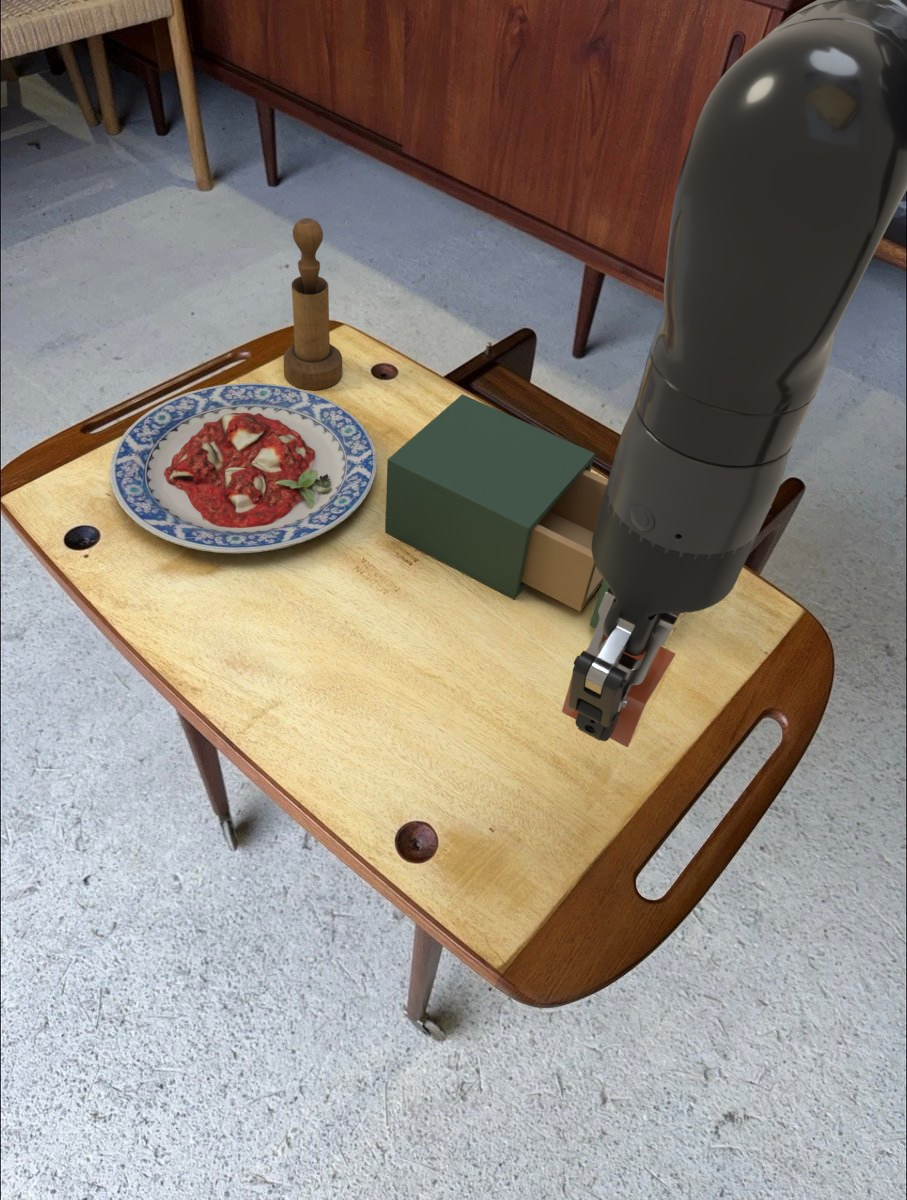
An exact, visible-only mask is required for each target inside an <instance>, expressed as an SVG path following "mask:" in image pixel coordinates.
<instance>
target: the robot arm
mask: <svg viewBox="0 0 907 1200" xmlns="http://www.w3.org/2000/svg"><path fill="white" fill-rule="evenodd" d="M906 192H907V0H815V1H813V2H811V3H809V4H807V5H806V6H803V7H802V8H800V9H799V10H797V11H796V12H794V13H792V14H791V15H789V16H788V17H787V18H786V19H785V20H784V21H782V22H781V23H779V24H778V25H777V26H776V27H775V28H774V29H772V31H770V32H768V34H766V36H764V37H763V38H762V39H761V40H760V41H759V42H757V43H756V44H755V45H754V46H752V47H751V48H750V49H748V50H747V51H746V52H745V53H744V54H742V55H741V56H740V58H739V57H738V59H737V60H736V61H735V62H734V63H733V64H732V65H731V66H730V67H729V68H728V69H727V70H726V71H725V73H724V74H723V75H722V76H721V77H720V78H719V80H718V81H717V83H716V84H715V86H714V87H713V89H712V90H711V92H710V94H709V95H708V97H707V99H706V100H705V102H704V105H703V106H702V108H701V111H700V113H699V114H698V118H697V120H696V122H695V125H694V127H693V130H692V133H691V135H690V138H689V141H688V145H687V148H686V151H685V154H684V158H683V161H682V165H681V167H680V172H679V175H678V179H677V184H676V189H675V193H674V199H673V204H672V211H671V215H670V216H671V217H670V224H669V225H670V226H669V232H668V242H667V252H666V261H665V272H664V280H663V281H664V282H663V310H662V313H661V316H660V318H659V322H658V324H657V325H656V326H657V327H656V329H655V333H654V335H653V339H652V342H651V345H650V348H649V351H648V355H647V358H646V362H645V365H644V370H643V373H642V377H641V381H640V384H639V387H638V391H637V395H636V399H635V402H634V404H633V406H632V409H631V412H630V413H629V415H628V418H627V420H626V422H625V424H624V426H623V430H622V431H621V434H620V437H619V441H618V443H617V447H616V449H615V454H614V458H613V461H612V465H611V468H610V472H609V476H608V479H607V480H608V483H607V486H606V490H605V494H604V497H603V501H602V505H601V508H600V512H599V516H598V519H597V523H596V527H595V530H594V534H593V538H592V555H593V560H594V562H595V565H596V567H597V569H598V571H599V573H600V574H601V576H602V577H603V578H604V580H605V581H606V583H607V584H608V586H609V588H608V589H607V591H606V593H605V595H604V597H603V600H602V602H601V605H600V607H599V610H598V614H599V617H600V620H599V622H598V625H597V627H596V629H595V630H594V632H593V635H592V638H591V639H590V642H589V645H588V647H587V649H588V650H587V649H586V650H587V652H586V650H582V651H581V653H580V654H579V655H576V657H575V658H574V661H573V665H574V666H573V668H572V675H571V678H572V681H571V680H570V681H571V689H570V697H569V705H568V707H570V708H572V709H574V710H575V711H576V710H577V712H578V715H577V718H576V720H575V725H576V727H577V730H579V731H581V732H582V733H584V734H586V735H588V736H589V737H591V738H594V739H595V740H597V741H602V742H607V741H609V740H610V739H611V738H610V736H611V734H612V733H613V731H614V728H615V725H616V723H617V720H618V718H619V715H620V712H621V710H622V708H625V707H626V705H627V703H628V701H629V700H627V698H628V696H629V694H630V691H631V689H632V687H633V685H639V684H641V683H642V682H643V680H644V679H645V677H646V676H647V675H648V673H649V672H650V669H651V667H652V665H653V663H654V661H655V658H656V656H657V654H658V652H659V650H660V647H661V646H662V647H664V646H665V644H666V643H667V641H668V640H669V639H670V637H671V636H672V634H673V633H675V630H676V628H677V627H678V625H679V623H680V621H681V619H682V618H683V616H684V614H685V613H686V614H688V613H694V612H699V611H702V610H706V609H708V608H711V607H714V606H715V605H716V604H718V603H720V602H721V601H722V600H724V599H725V598H726V597H727V596H728V595H730V593H731V591H732V590H733V589H734V587H735V585H736V583H737V581H738V579H739V576H740V574H741V572H742V570H743V568H744V566H745V563H746V561H747V559H748V557H749V555H750V553H751V550H752V548H753V546H754V544H755V542H756V539H757V538H758V535H759V533H760V532H761V529H762V526H763V525H764V522H765V520H766V518H767V516H768V514H769V511H770V509H771V508H772V505H773V503H774V500H775V498H776V496H777V494H778V493H779V492H778V491H779V489H780V487H781V485H782V481H783V479H784V476H785V471H786V468H787V463H788V460H789V456H790V454H791V451H792V448H793V445H794V443H795V441H796V439H797V436H798V435H799V433H800V430H801V428H802V426H803V423H804V422H805V419H806V417H807V414H808V413H809V411H810V408H811V406H812V404H813V402H814V399H815V398H816V394H817V393H818V390H819V387H820V386H821V383H822V380H823V378H824V376H825V373H826V370H827V368H828V365H829V362H830V358H831V355H832V351H833V347H834V343H835V342H834V341H835V332H836V330H837V328H838V326H839V324H840V322H841V321H842V318H843V317H844V314H845V313H846V311H847V308H848V306H849V305H850V302H852V301H851V300H852V298H853V297H854V295H855V293H856V290H857V289H858V287H859V284H860V283H861V281H862V279H863V276H864V274H865V272H866V271H867V268H868V266H869V264H870V262H871V261H872V258H873V257H874V254H875V252H876V251H877V248H878V246H879V245H880V243H881V240H882V239H883V237H884V234H885V233H886V231H887V229H888V227H889V225H890V223H891V221H892V219H893V217H894V215H895V214H896V212H897V210H898V207H899V205H900V204H901V202H902V200H903V197H904V195H905V194H906ZM606 638H607V640H606ZM645 651H646V652H645ZM624 652H625V653H627V654H629V655H632V656H639V655H643V654H644V652H645V654H644V656H643V659H642V660H637V659H634V658H632V657H630V656H629V655H627V654H625V653H624Z"/></svg>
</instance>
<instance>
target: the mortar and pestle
mask: <svg viewBox="0 0 907 1200" xmlns="http://www.w3.org/2000/svg"><path fill="white" fill-rule="evenodd" d="M292 238H293V242H294V243H295V245H296V247H297V248H298V249H299V251H300V255H301V257H300V259H299V260H298V262H297V268H298V272H299V275H300V276H298V277H296V278H294V279H293V280H292V282H291V284H290V285H291V301H292V317H293V338H294V339H293V340H294V344H292V345H291V346H289V347H288V348H287V349H286V350H285V352H284V354H283V374H284V377H285V379H286V381H287V382H288V383H289V384H291V385H292V386H293V387H294V388H297V389H300V390H306V391H308V390H309V391H318V390H319V389H320V390H325V389H328V387H329V388H331V387H333V386H335V385H336V384H338V383H339V381H340V380H341V379H342V376H343V356H342V353H341V351H340V350H339V348H337V347H336V346H334V345H332V344H331V343H330V342H331V339H330V300H329V299H330V298H329V297H330V296H329V283H328V281H327V280H326V279H325V278H323V277H322V276H319V274H320V270H321V261H319V260H318V259H317V258H316V257H317V256H316V255H317V251H318V250H319V248H320V246H321V245H322V242H323V240H324V231H323V228H322V226H321V224H320V223H319V222H318V221H317V220H316V219H313V218H311V217H303V218H301V219H299V220H298V221H296V223H295V224H294V225H293V229H292ZM337 382H338V383H337Z"/></svg>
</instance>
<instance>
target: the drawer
mask: <svg viewBox="0 0 907 1200" xmlns="http://www.w3.org/2000/svg"><path fill="white" fill-rule="evenodd" d="M607 483H608V479H607V478H605V477H603V476H601V475H598V474H596V473H595V472H593V471H587V470H584V471H583V472H582V474H581V475H580V476H579V477H578V478H577V479H576V480H575V482H574V483H573V484H572V485H571V486H570V487H569V488H568V490H567V491H566V492H565V493H564V494H563V495H562V496H561V497H560V499H559V500H558V501H557V502H556V503H555V504H554V505H553V507H552V508H551V509H550V510H549V511H548V512H547V513H546V515H545V516H544V517H543V518H542V519H541V520H540V521H539V523H538V524H537V525H536V526H535V527H534V528H533V529H532V532H531V537H530V542H529V547H528V552H527V557H526V562H525V567H524V572H523V577H522V581H521V582H523V583H525V584H527V586H529V587H532V589H535V590H537V591H539V592H540V593H542V594H545V595H546V596H548V597H550V598H552V599H554V600H557V601H558V602H560V603H562V604H564V605H565V606H568V607H570V608H572V609H574V610H576V611H577V612H581V611H582V610H583V608H584V607H585V606H586V605H587V604H588V602H589V601H590V600H591V598H592V597H593V595H594V594H595V593H596V591H597V590H598V589H599V592H598V595H597V598H596V601H595V605H594V608H593V611H592V613H591V617H590V620H589V623H588V625H589V627H591V628H593V629H595V630H596V627H597V625H598V622H599V620H600V617H599V614H598V610H599V607H600V605H601V602H602V600H603V597H604V595H605V593H606V591H607V589H608V588H609V586H608V584H607V583H606V581H605V580H604V578H603V577H602V576H601V574H600V573H599V571H598V569H597V567H596V565H595V562H594V560H593V555H592V538H593V534H594V530H595V527H596V523H597V519H598V516H599V512H600V508H601V505H602V501H603V497H604V494H605V490H606V486H607ZM599 587H600V588H599Z"/></svg>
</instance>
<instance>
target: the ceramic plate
mask: <svg viewBox="0 0 907 1200" xmlns="http://www.w3.org/2000/svg"><path fill="white" fill-rule="evenodd" d="M110 459H111V460H110V465H109V481H110V486H111V489H112V492H113V495H114V496H115V498H116V500H117V502H118V504H119V506H120V507H121V508H122V509H123V511H124V512H125V513H126V515H127V516H129V517H130V519H131V520H133V521H134V522H135V523H136V524H137V525H139V526H140V527H141V528H142V529H144V530H146V531H147V532H149V533H150V534H152V535H154V536H156V537H158V538H160V539H163V540H165V541H167V542H170V543H172V544H175V545H178V546H182V547H185V548H189V549H193V550H197V551H203V552H211V553H218V554H219V553H223V554H249V553H262V552H268V551H274V550H279V549H285V548H288V547H292V546H295V545H299V544H302V543H304V542H306V541H309V540H313V539H314V538H317V537H319V536H321V535H323V534H325V533H327V532H328V531H330V530H332V529H334V528H336V527H337V526H338V525H340V524H341V523H342V522H344V521H345V520H346V519H348V518H349V517H350V516H351V515H352V514H353V513H354V512H355V511H356V510H357V509H359V507H360V506H361V505H362V504H363V502H364V500H365V499H366V497H367V496H368V495H369V493H370V491H371V489H372V486H373V483H374V481H375V478H376V477H375V476H376V473H377V454H376V449H375V445H374V443H373V440H372V438H371V436H370V434H369V433H368V431H367V430H366V429H365V427H364V426H363V424H362V423H361V422H360V421H359V420H358V419H357V418H356V417H354V415H353V414H351V413H350V412H349V411H347V410H346V409H345V408H343V407H342V406H340V405H339V404H337V403H335V402H334V401H332V400H330V399H328V398H326V397H324V396H321V395H319V394H316V393H313V392H310V391H308V390H305V389H301V388H298V387H294V386H288V385H280V384H272V383H263V382H262V383H261V382H245V383H243V382H242V383H226V384H218V385H214V386H210V387H205V388H200V389H196V390H192V391H188V392H185V393H182V394H180V395H178V396H175V397H173V398H171V399H168V400H166V401H164V402H163V403H161V404H158V405H157V406H156V407H153V408H152V409H150V410H149V411H147V412H145V413H144V414H143V415H142V416H140V417H139V418H138V419H137V420H136V421H134V422H133V423H132V424H131V426H129V427H128V429H126V431H125V432H124V433H123V435H122V436H121V437H120V439H119V440H118V442H117V444H116V446H115V447H114V450H113V453H112V456H111V458H110Z"/></svg>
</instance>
